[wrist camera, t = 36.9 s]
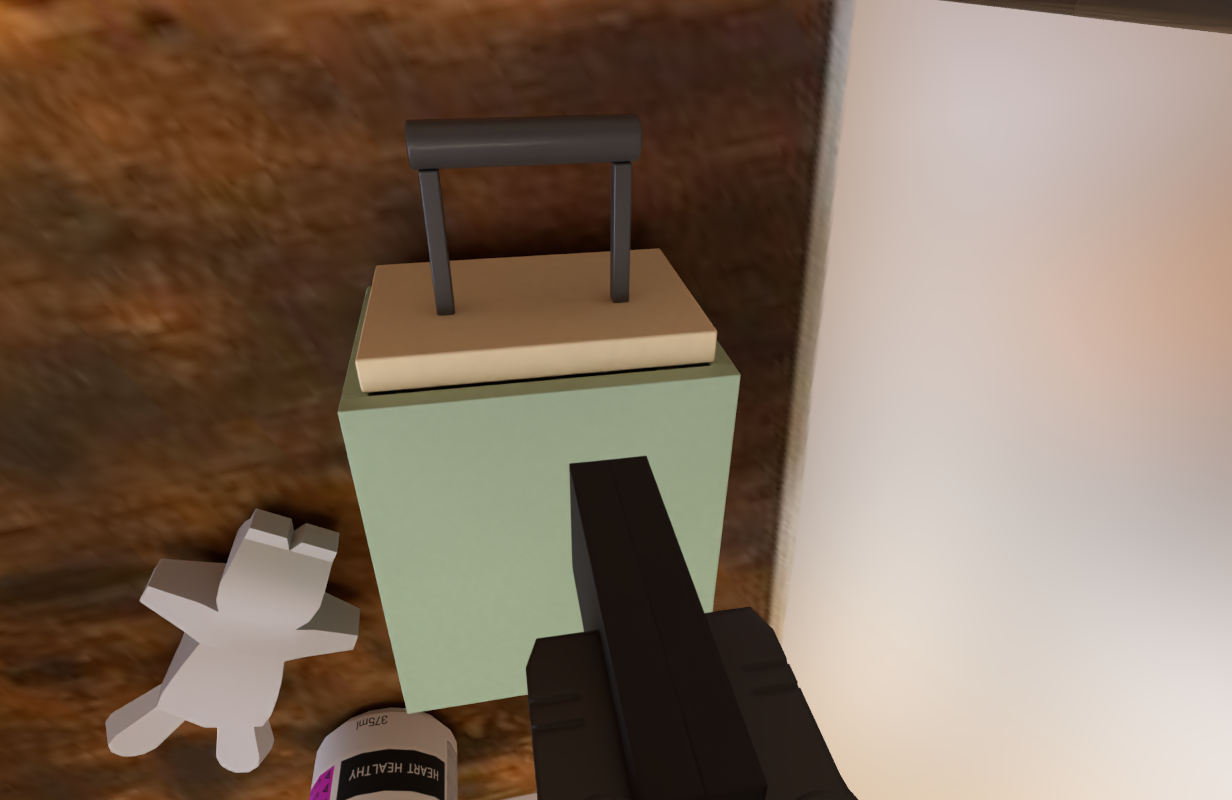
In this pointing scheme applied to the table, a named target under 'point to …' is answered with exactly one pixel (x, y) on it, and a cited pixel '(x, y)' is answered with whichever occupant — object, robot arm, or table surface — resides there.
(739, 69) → the table surface
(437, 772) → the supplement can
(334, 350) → the table surface
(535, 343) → the drawer
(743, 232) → the table surface
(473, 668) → the cabinet
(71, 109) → the table surface
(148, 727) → the bunny figurine
